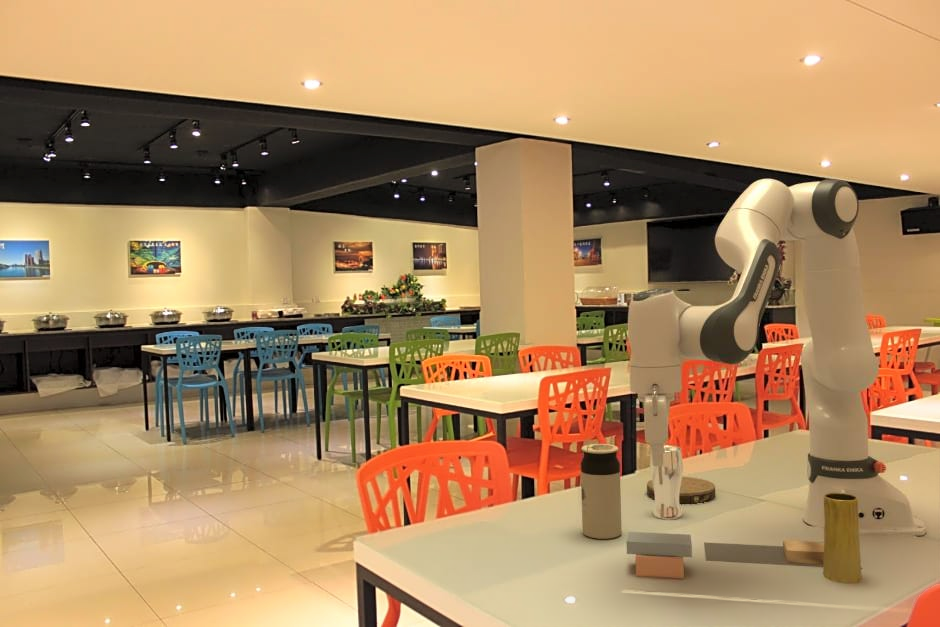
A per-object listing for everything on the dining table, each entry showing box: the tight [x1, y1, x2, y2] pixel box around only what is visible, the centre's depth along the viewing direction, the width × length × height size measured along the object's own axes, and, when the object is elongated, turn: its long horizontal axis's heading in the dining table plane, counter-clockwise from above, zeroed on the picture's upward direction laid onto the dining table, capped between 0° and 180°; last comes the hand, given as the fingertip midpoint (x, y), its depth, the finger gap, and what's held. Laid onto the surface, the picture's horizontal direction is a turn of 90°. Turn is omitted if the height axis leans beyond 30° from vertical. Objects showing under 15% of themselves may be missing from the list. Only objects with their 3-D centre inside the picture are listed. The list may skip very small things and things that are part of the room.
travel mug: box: [580, 443, 623, 540], centre depth 158 cm, size 8×8×18 cm
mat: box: [703, 541, 863, 570], centre depth 141 cm, size 26×10×1 cm, turn 75°
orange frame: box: [635, 554, 685, 580], centre depth 135 cm, size 8×8×4 cm
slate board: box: [626, 531, 693, 558], centre depth 135 cm, size 11×6×2 cm, turn 75°
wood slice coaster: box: [646, 476, 716, 506], centre depth 185 cm, size 16×16×3 cm
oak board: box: [782, 540, 824, 564], centre depth 138 cm, size 11×6×2 cm, turn 75°
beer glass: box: [649, 444, 684, 520], centre depth 169 cm, size 7×7×15 cm
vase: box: [822, 493, 863, 584], centre depth 130 cm, size 6×6×14 cm
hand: (658, 459), depth 135 cm, fingers open, 8 cm apart
